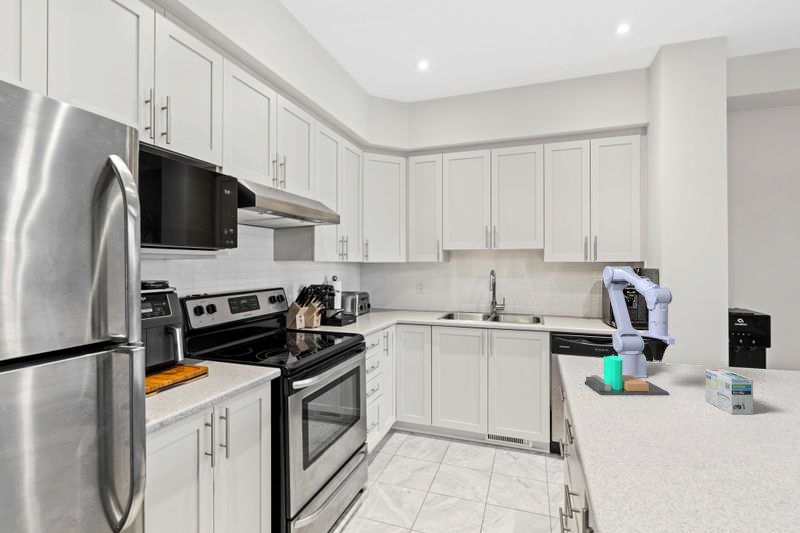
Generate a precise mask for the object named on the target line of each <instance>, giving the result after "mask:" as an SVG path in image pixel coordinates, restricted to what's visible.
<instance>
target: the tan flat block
mask: <svg viewBox="0 0 800 533" xmlns="http://www.w3.org/2000/svg"><path fill="white" fill-rule="evenodd" d="M622 388H624V389H625V390H627V391H649V384H648V383H646V382H644V380H643V379H641V378H637V377H635V376H633V375H623V382H622Z"/></svg>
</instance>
